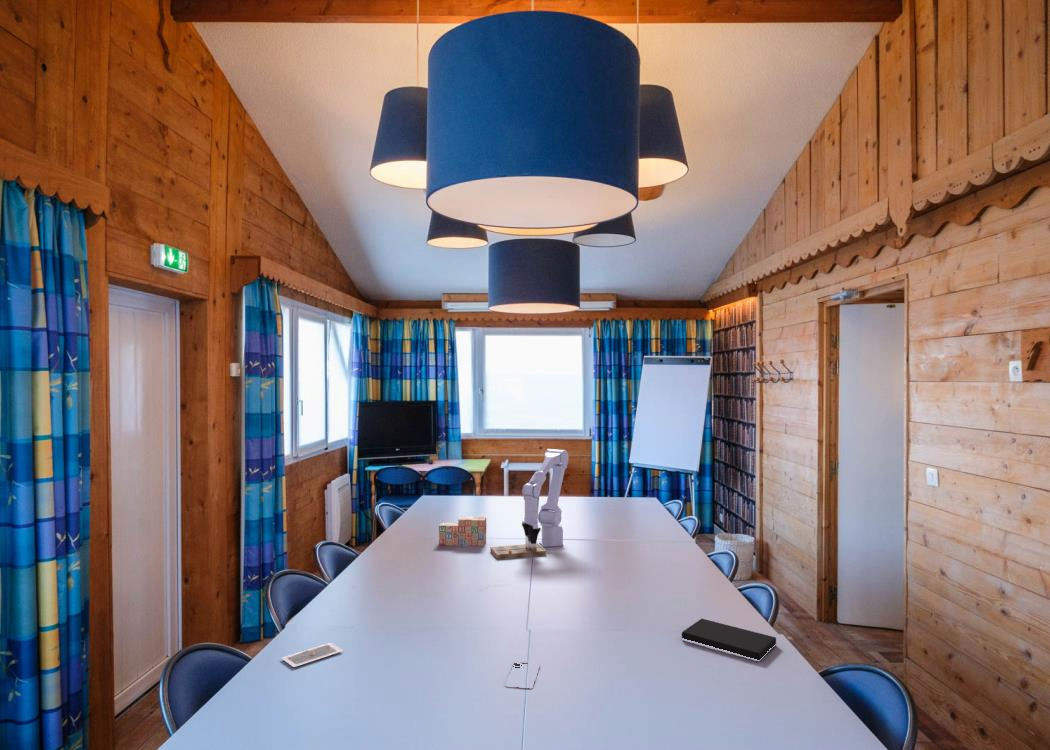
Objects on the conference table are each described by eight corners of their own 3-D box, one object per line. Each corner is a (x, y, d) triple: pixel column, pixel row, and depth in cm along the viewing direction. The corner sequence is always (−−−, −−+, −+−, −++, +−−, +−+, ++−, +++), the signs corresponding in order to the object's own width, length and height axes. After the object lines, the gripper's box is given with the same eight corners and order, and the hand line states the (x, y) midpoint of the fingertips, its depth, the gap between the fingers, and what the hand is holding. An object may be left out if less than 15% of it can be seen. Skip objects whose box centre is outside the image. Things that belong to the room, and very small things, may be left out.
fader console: (537, 547, 299) (537, 540, 299) (546, 555, 287) (546, 548, 287) (490, 551, 292) (490, 544, 292) (497, 559, 281) (497, 551, 281)
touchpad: (343, 654, 189) (343, 646, 189) (293, 671, 178) (293, 663, 178) (330, 646, 194) (330, 638, 194) (281, 661, 184) (281, 654, 184)
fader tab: (534, 545, 294) (534, 534, 294) (536, 548, 290) (536, 537, 290) (525, 546, 293) (525, 535, 293) (528, 549, 289) (528, 537, 289)
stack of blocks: (438, 545, 303) (438, 518, 303) (441, 541, 309) (441, 515, 309) (484, 546, 301) (484, 519, 301) (486, 543, 307) (486, 516, 307)
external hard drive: (758, 663, 183) (759, 653, 183) (681, 641, 197) (681, 631, 197) (776, 647, 194) (776, 637, 194) (701, 627, 208) (701, 618, 208)
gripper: (517, 507, 297) (517, 538, 297) (527, 514, 283) (526, 546, 283) (532, 507, 299) (532, 536, 299) (542, 513, 285) (542, 545, 285)
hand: (530, 541), depth 291 cm, fingers open, 7 cm apart
